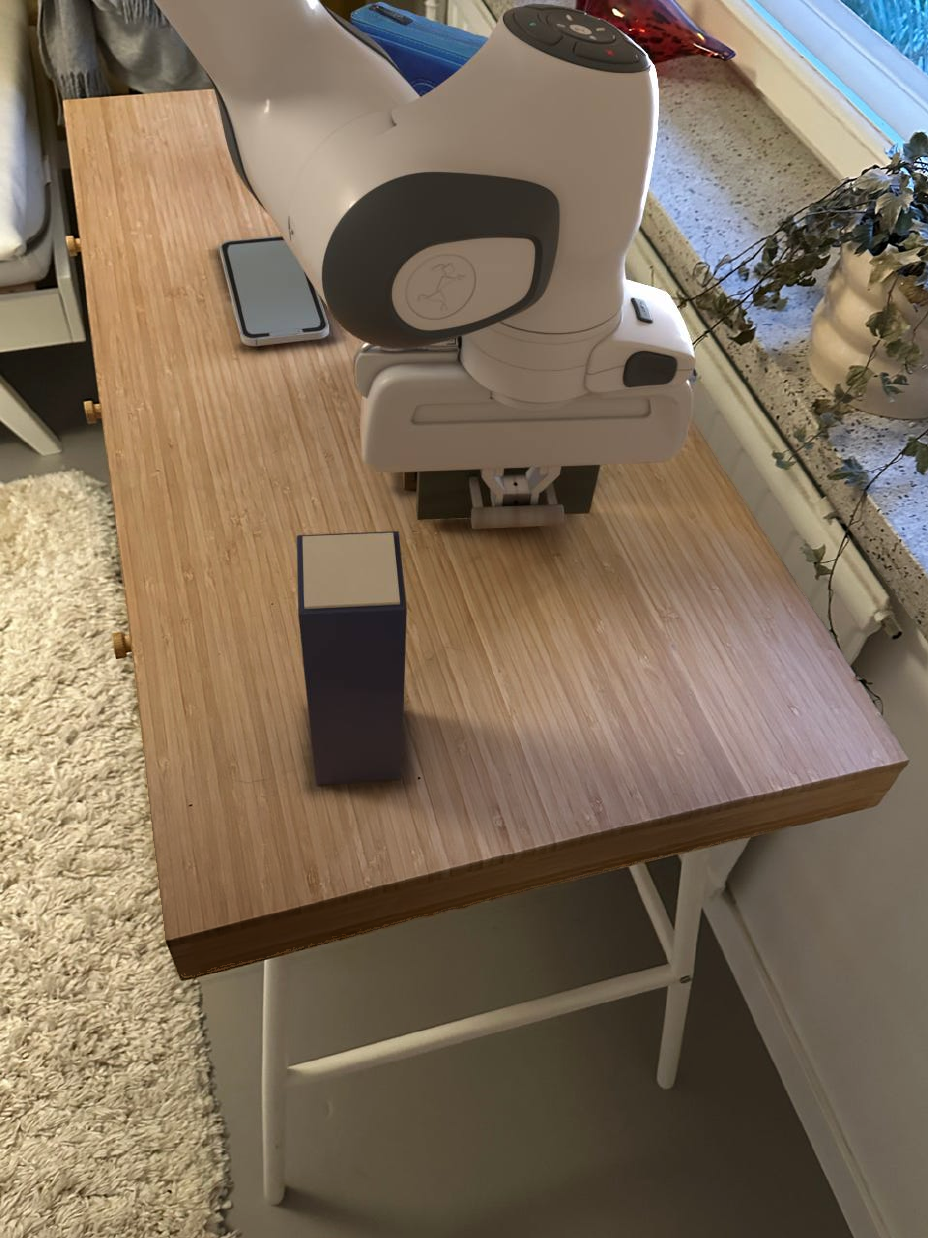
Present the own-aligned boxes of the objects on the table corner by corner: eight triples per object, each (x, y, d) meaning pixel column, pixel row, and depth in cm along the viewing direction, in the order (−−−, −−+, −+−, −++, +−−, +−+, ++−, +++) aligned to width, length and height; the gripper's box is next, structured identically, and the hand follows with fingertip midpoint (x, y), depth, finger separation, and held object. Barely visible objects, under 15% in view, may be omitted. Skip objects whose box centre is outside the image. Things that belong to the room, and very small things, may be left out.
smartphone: (299, 233, 93) (331, 330, 84) (299, 242, 94) (331, 339, 85) (217, 241, 91) (241, 340, 82) (218, 249, 92) (242, 349, 83)
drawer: (601, 558, 70) (619, 488, 65) (422, 566, 69) (426, 495, 64) (553, 375, 82) (565, 303, 77) (400, 378, 81) (401, 305, 76)
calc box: (315, 785, 59) (297, 612, 46) (313, 713, 62) (296, 531, 49) (401, 779, 60) (407, 606, 47) (395, 708, 63) (398, 527, 50)
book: (340, 246, 93) (332, 9, 78) (372, 221, 96) (370, -13, 81) (475, 300, 90) (495, 62, 74) (504, 272, 93) (530, 38, 77)
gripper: (355, 369, 54) (360, 544, 65) (724, 360, 57) (669, 530, 68) (349, 299, 58) (354, 475, 69) (695, 293, 61) (647, 464, 71)
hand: (512, 502), depth 68 cm, fingers closed, pressing on drawer
